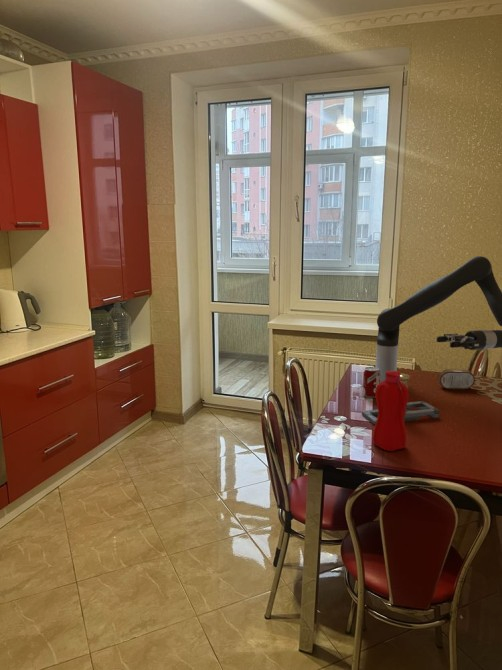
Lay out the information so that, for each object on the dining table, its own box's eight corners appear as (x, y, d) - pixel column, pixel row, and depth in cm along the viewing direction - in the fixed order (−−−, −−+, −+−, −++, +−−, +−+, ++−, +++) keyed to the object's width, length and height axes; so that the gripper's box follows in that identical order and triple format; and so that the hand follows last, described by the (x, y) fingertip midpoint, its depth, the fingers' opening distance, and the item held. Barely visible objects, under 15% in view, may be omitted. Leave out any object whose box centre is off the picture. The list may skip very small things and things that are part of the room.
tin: (472, 387, 210) (474, 369, 208) (475, 390, 207) (476, 371, 205) (437, 387, 211) (438, 368, 210) (439, 389, 208) (440, 370, 206)
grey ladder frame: (374, 425, 172) (374, 417, 171) (361, 414, 181) (362, 407, 181) (438, 417, 177) (439, 410, 177) (423, 408, 187) (423, 400, 186)
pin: (390, 414, 181) (393, 374, 177) (402, 413, 182) (405, 373, 179) (397, 419, 177) (400, 378, 173) (409, 418, 178) (412, 376, 174)
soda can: (361, 397, 199) (362, 370, 197) (364, 392, 205) (365, 365, 203) (378, 399, 197) (379, 371, 194) (380, 394, 203) (381, 367, 200)
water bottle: (390, 456, 148) (394, 379, 143) (368, 442, 158) (371, 369, 153) (414, 450, 152) (419, 375, 146) (391, 437, 162) (395, 366, 156)
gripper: (469, 326, 192) (433, 328, 189) (494, 334, 179) (456, 336, 175) (467, 344, 194) (431, 346, 190) (492, 353, 180) (454, 356, 177)
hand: (443, 342), depth 183 cm, fingers open, 8 cm apart
